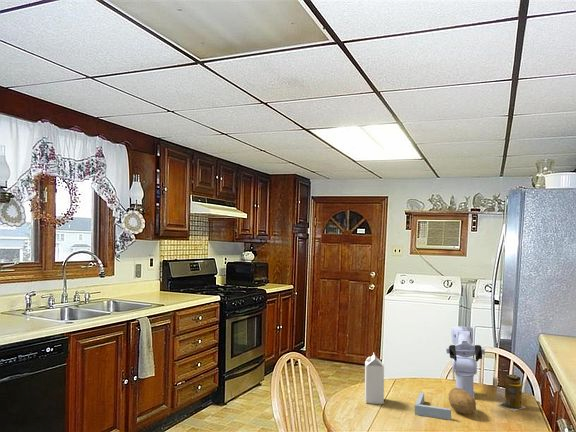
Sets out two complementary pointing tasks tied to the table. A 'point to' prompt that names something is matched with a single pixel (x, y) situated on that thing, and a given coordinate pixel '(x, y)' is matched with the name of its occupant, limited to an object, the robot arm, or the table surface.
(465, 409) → the potato
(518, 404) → the condiment
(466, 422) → the table surface
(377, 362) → the milk carton
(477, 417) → the table surface
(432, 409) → the corner walls
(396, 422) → the table surface
